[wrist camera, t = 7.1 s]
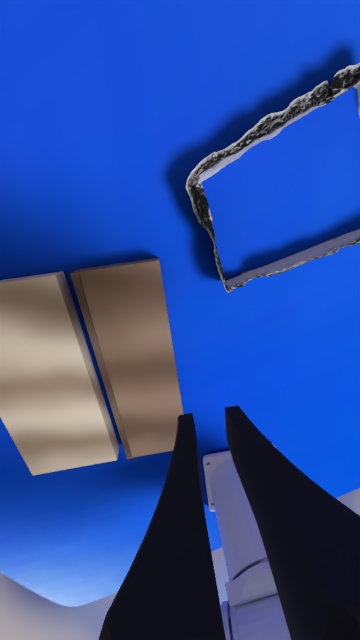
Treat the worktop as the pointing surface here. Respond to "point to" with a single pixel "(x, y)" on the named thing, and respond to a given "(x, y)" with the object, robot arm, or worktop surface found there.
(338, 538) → the robot arm
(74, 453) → the maple plank
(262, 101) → the worktop surface
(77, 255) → the worktop surface
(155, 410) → the walnut strip
